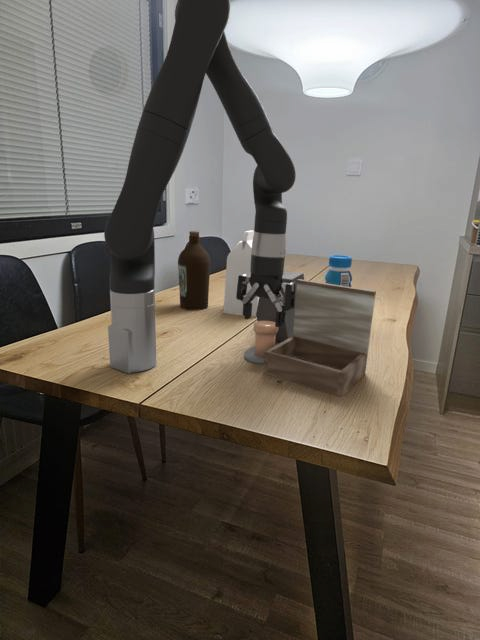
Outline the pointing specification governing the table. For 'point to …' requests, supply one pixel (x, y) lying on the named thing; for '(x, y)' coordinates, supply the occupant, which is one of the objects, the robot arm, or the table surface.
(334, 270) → the beverage bottle
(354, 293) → the hinged wooden box
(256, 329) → the round cabinet knob
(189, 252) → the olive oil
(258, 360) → the saucer
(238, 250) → the milk
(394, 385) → the table surface
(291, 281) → the planter
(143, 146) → the robot arm
